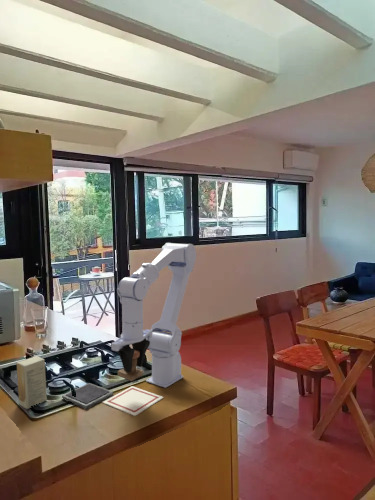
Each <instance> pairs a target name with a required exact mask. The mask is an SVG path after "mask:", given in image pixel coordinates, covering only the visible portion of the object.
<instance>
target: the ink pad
mask: <svg viewBox="0 0 375 500" xmlns="http://www.w3.org/2000/svg"><path fill="white" fill-rule="evenodd" d="M74 390H76V397H74V396H72V394H71V391H69V392H67V393H65V394H63V395H62V396H61V399H62V398H63V399H66V400H69V401H71V402H72V403H74V404H73V405H75V406H77V407H80V408H81V409H84V410H87V409H90V408H91V407H94V406H96V405H97V404H99V403H101V402H104V401H105V400H107V399H109V398H111V397H113V396H114V391H112V390H110V389H107V388H104V387H102V386H98V385H97V384H94V383H90V382H88V383H86V384H84V385H82V386H80V387H78V388H76V389H74ZM63 399H62V400H63ZM72 403H71V404H72Z"/></svg>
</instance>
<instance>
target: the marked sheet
mask: <svg viewBox="0 0 375 500" xmlns="http://www.w3.org/2000/svg"><path fill="white" fill-rule="evenodd" d="M162 399H164V396H162V395H158V394H156V393H153V392H150V391H147V390H145V389H142V388H139V387H136V386H130V387H128V388H126V389H124V390H123V391H120V392H119V393H117V394H115V395H112V396H110V397H109V398H107V399H105V400H103V401H102V404H103V405H106V406H109V407H112V408H114V409H117V410H119V411H121V412H123V413H126V414H129V415H130V416H131V415H132V416H134V417H136V416H137V415H139V414H140V413H142V412H144V411H145V410H147V409H148V408H150V407H151V406H153V405H154V404H156V403H158V402H159V401H161V400H162Z"/></svg>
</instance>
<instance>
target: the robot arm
mask: <svg viewBox="0 0 375 500" xmlns="http://www.w3.org/2000/svg"><path fill="white" fill-rule="evenodd" d="M160 251H161V252H160V253H159V254H158V255H157V256H156V257H155V258H154V259H153V260H152V261H151V262H146V263H145V262H143V263H142V264H141V266H140V267H139V268H138V269H137V270H136V271H134V272H133V273H132V274H131V275H130V276H127V277H126V276H125V277H123V278H122V279H121V280H120V281H119V283H118V285H117V288H116V293H117V294H118V295H117V296H118V297H119V302H120V304H121V309H122V310H121V315H122V316H121V322H122V323H121V324H122V325H121V327H122V330H121V331H122V332H121V334H120V337H119V338H117V339H116V340H115V341H113V342H111V344H110V345H111V351H114V352H116V353H117V355H118V356H119V359H120V360H121V363H122V367H123V368H124V371H127V372H131V370H132V359H133V354H134V352H135V350H138V351H139V352H140V355H139V357H138V358H137V367H140V368H141V367H143V363H144V359H145V355H146V352H147V350H149V353H150V354H151V377H148V378H147V379H146V380H145V381H146V382H147V383H150V384H152V385H156V386H158V387H162V388H168V387H170V386H171V385H172V384H174V383H176V382H178V381H180V380H181V379H183V378H184V375H182V357H181V353H180V352H179V351H180V349H181V345H182V335H183V332H182V330H181V328H179V326H178V325H177V323H178V319H179V315H180V311H181V307H182V303H183V300H184V296H185V293H186V289H187V286H188V282H189V278H190V274H191V273H192V272H193V271H194V267H195V263H196V260H197V252H196V248H195V245H194V244H193V243H175V242H174V243H173V242H165V244H164V245H162V247H161V250H160ZM166 267H167V268H168V269H169V271H171V273H172V278H171V281H170V285H169V288H168V292H167V294H166V298H165V301H164V305H163V308H162V312H161V316H160V319H159V320H158V321H156V322H155V323H153V324H152V325H151V328H150V329H148V328H147V329H144V299H145V298H146V297H147V293H148V291H149V289H150V286H151V285H153V283H155V282H156V281H157V279H159V277H160V272H161V271H162V270H164V269H165V268H166ZM131 346H132V347H131ZM123 368H122V369H123Z"/></svg>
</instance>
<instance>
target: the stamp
mask: <svg viewBox="0 0 375 500" xmlns="http://www.w3.org/2000/svg"><path fill="white" fill-rule="evenodd" d="M139 355H140V352H139V351H138V350H135V352H134V354H133V359H132V370H131V372H127V371H124V368H120V369H119V370H117V376H118V377H120V378H122V379H125V380H127V381H129V382H133V381H135V380H136V379H138V378H140V377H142V376H143V375H144V370H141V369H139V368H137V367H138V366H137V358H138V357H139Z"/></svg>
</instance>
